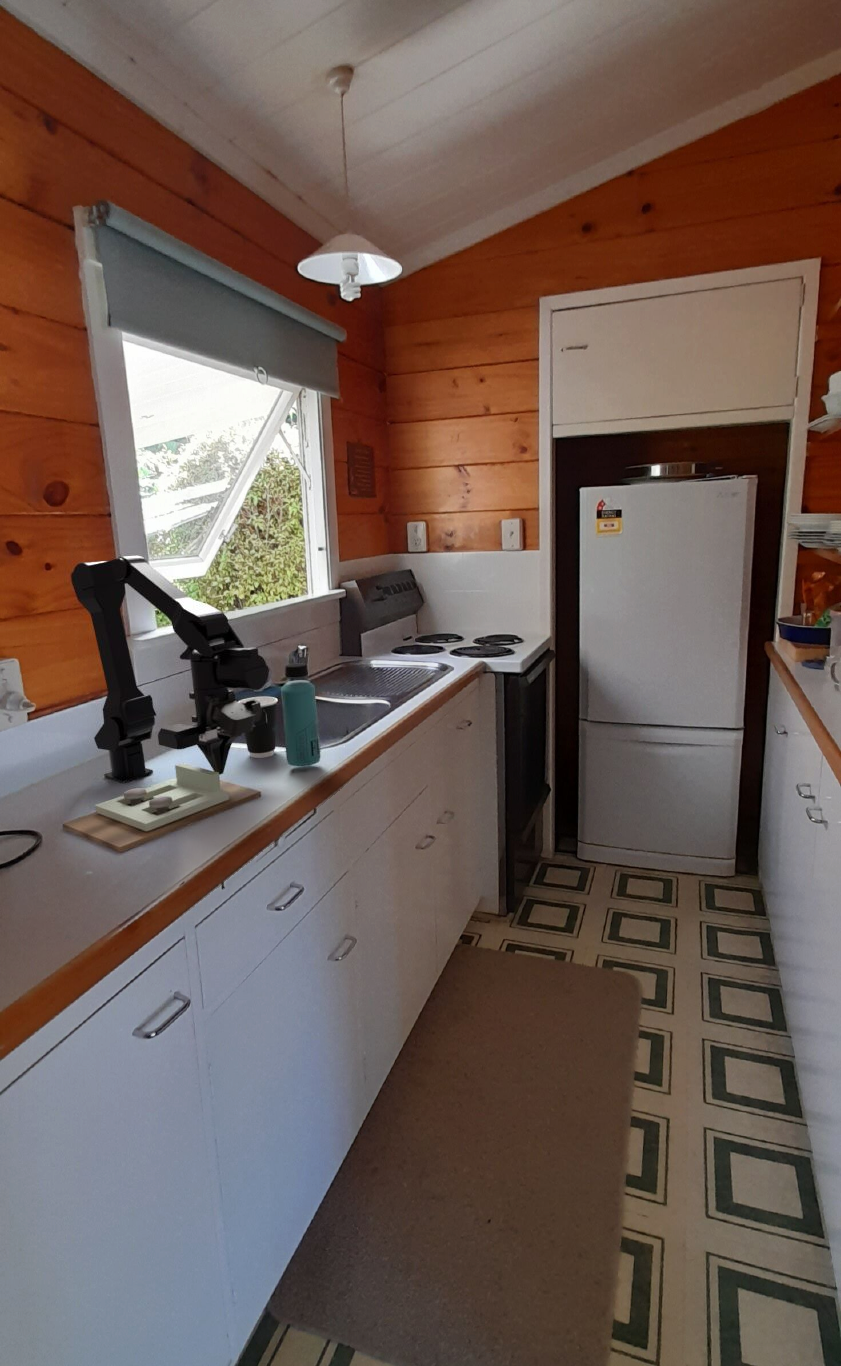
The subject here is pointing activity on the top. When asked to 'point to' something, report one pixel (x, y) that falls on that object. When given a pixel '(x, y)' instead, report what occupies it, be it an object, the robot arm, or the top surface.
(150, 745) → the top surface
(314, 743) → the beverage bottle
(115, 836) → the walnut board
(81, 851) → the top surface
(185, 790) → the sage panel
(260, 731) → the dixie cup
